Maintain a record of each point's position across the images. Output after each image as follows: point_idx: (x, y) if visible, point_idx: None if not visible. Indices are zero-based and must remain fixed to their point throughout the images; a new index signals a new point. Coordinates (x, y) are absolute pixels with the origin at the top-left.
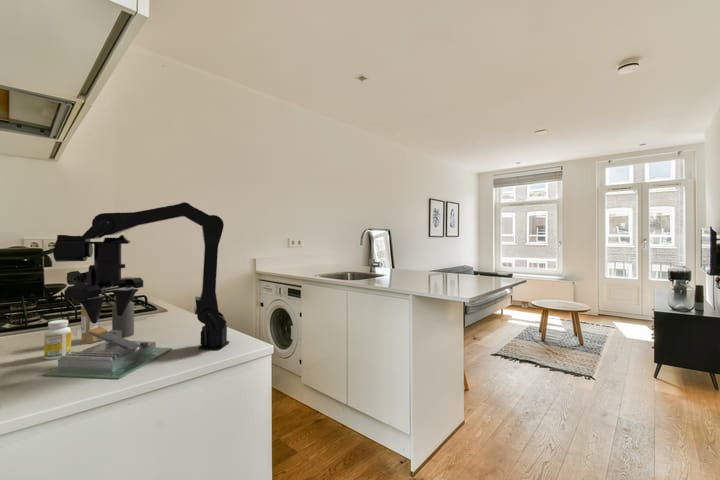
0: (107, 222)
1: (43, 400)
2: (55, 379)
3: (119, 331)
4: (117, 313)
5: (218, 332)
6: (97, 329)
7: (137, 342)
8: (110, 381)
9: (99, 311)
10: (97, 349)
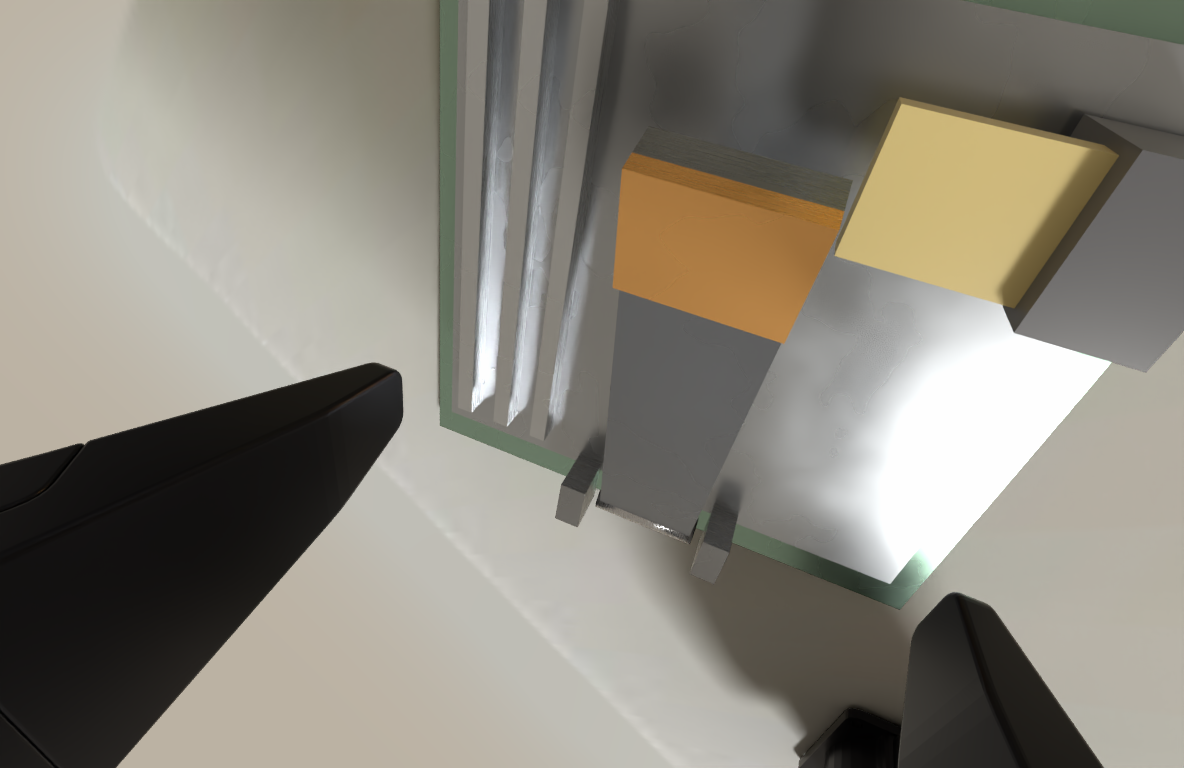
0: None
1: (213, 185)
2: (403, 32)
3: (1088, 353)
4: (964, 630)
5: None
6: (709, 243)
7: (926, 463)
8: (419, 387)
9: (216, 622)
10: (767, 154)
